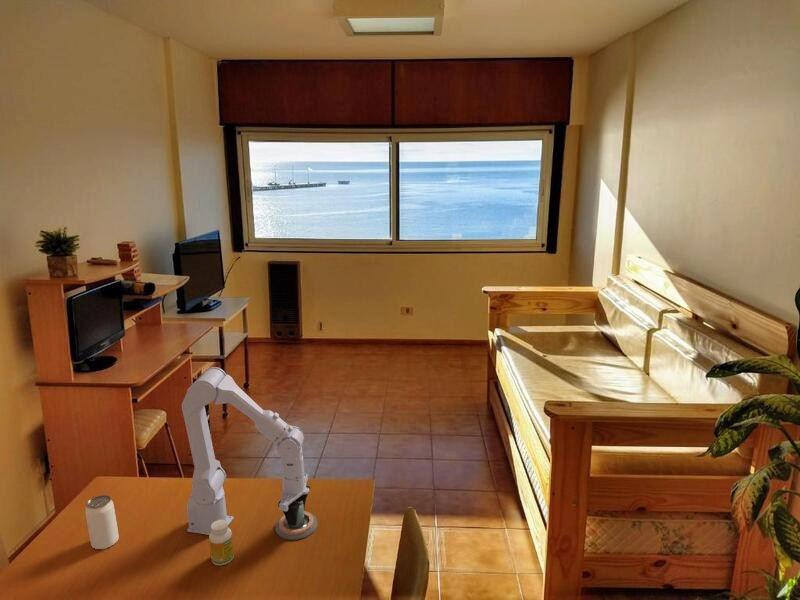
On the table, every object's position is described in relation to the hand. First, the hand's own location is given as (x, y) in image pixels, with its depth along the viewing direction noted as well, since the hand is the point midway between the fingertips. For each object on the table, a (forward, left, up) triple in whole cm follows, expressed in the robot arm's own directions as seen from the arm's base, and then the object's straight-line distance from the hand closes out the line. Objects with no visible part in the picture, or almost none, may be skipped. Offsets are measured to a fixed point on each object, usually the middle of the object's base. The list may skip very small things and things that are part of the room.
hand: (296, 518), depth 154 cm
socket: (0, 0, -2) cm, 2 cm away
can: (-46, -16, -3) cm, 49 cm away
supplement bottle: (-13, -15, -3) cm, 20 cm away
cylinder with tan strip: (0, 0, -2) cm, 2 cm away
